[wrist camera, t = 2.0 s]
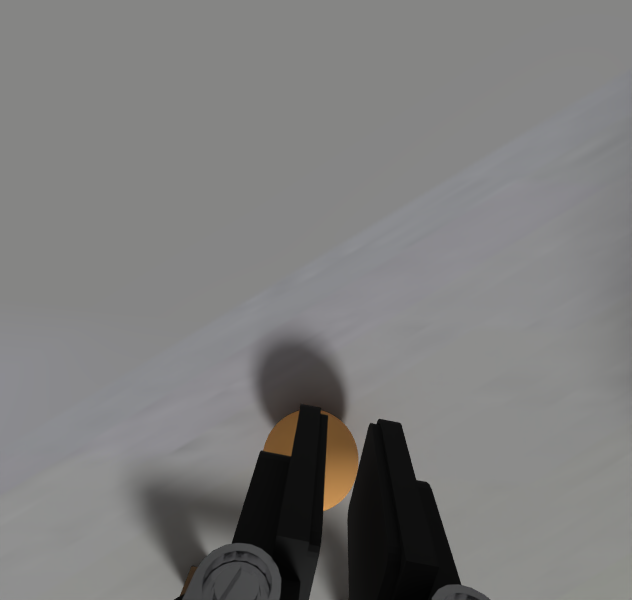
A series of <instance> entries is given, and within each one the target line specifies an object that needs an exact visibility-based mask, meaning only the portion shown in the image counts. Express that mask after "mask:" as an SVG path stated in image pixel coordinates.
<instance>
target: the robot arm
mask: <svg viewBox="0 0 632 600" xmlns="http://www.w3.org/2000/svg"><path fill="white" fill-rule="evenodd" d="M327 429H328V415H325V414H321V408H319V407H313V406H308V405H303V404H301V405H300V411H299V416H298V421H297V427H296V432H295V438H294V443H293V448H292V454H291V456H287V455H282V454H276V453H271V452H266V451H261V452H260V454H259V457H258V460H257V463H256V467H255V470H254V473H253V476H252V479H251V483H250V486H249V489H248V492H247V496H246V499H245V502H244V505H243V509H242V512H241V515H240V518H239V521H238V525H237V528H236V531H235V534H234V538H233V541H232V544H228V545H224V546H222V547H220V548H218V549H215V550H213V551H212V552H211V553H210V554H209V555H208V556H206V557H205V558H204V559H203V560H202V562H201V563H200V565H199V566H198V568H197V569H196V571H195V573H194V575H193V577H192V580H191V582H190V584H189V586H188V588H187V590H186V593H185V594H183V595H181V596H180V597H178V598H176V599H174V600H309V596H310V592H311V587H312V583H313V579H314V574H315V570H316V566H317V561H318V557H319V551H320V545H321V537H322V525H323V506H324V486H325V467H326V448H327ZM348 565H349V600H490V599H489V598H488V597H486V596H485V595H484V594H482V593H480V592H478V591H476V590H474V589H473V588H470V587H466V586H463V585H461V582H460V579H459V576H458V572H457V569H456V566H455V563H454V560H453V556H452V553H451V550H450V547H449V544H448V540H447V537H446V534H445V531H444V527H443V524H442V521H441V518H440V515H439V511H438V508H437V505H436V502H435V499H434V495H433V492H432V489H431V487H430V485H429V484H428V483H427V482H423V481H418V480H416V478H415V474H414V470H413V466H412V463H411V459H410V455H409V451H408V448H407V444H406V440H405V436H404V433H403V429H402V425H401V423H398V422H393V421H388V420H382V419H379V420H378V421H377V424H373V423H370V425H369V427H368V431H367V435H366V439H365V443H364V447H363V452H362V456H361V460H360V464H359V468H358V472H357V476H356V480H355V484H354V488H353V492H352V496H351V500H350V504H349V510H348Z"/></svg>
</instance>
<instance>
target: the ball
mask: <svg viewBox="0 0 632 600" xmlns="http://www.w3.org/2000/svg"><path fill="white" fill-rule="evenodd" d="M299 411H300V410H299ZM299 411H296V412H294V413H291V414H289V415H287V416H286V417H284V418H283V419H282V420H281V421H280V422H278V423H277V424H276V426H275V427H274V428H273V429H272V431H271V432H270V434H269V436H268V438H267V440H266V443H265V446H264V450H263V451H266V452H271V453H276V454H282V455H287V456H291V454H292V448H293V443H294V438H295V432H296V427H297V421H298V416H299ZM321 414H325V415H328V429H327V448H326V467H325V486H324V506H323V511H325V510H328V509H330V508H332V507H334V506H335V505H337V504H338V503H339V502H340V501H342V500H343V499H344V497H345V496H346V495H347V494H348V492H349V491H350V490H351V488H352V486H353V484H354V481H355V478H356V475H357V470H358V451H357V446H356V443H355V441H354V438H353V436H352V434H351V432H350V431H349V429H348V428H347V427H346V426H345V424H344V423H343V422H342V421H340V420H339V419H338V418H337V417H335V416H334V415H332V414H330V413H328V412H325V411H322V410H321Z"/></svg>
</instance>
